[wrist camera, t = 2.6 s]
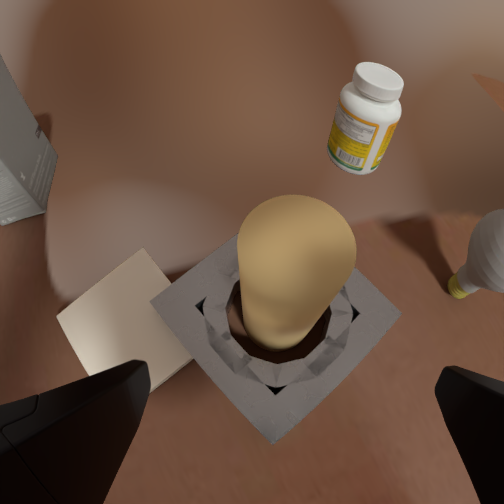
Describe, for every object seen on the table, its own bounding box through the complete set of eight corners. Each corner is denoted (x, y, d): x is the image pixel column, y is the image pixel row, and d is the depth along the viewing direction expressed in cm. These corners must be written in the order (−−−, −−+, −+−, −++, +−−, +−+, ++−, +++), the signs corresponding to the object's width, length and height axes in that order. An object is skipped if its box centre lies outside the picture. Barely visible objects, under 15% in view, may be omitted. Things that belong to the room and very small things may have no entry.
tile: (119, 416, 19) (116, 416, 18) (60, 318, 22) (56, 316, 21) (217, 339, 21) (216, 337, 21) (145, 250, 24) (142, 247, 24)
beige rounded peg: (274, 365, 21) (297, 328, 11) (229, 316, 22) (212, 239, 12) (323, 320, 22) (378, 248, 12) (278, 275, 23) (296, 177, 14)
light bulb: (423, 258, 24) (488, 186, 15) (470, 262, 24) (538, 199, 15) (431, 322, 22) (513, 269, 13) (480, 320, 21) (561, 272, 13)
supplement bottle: (337, 179, 28) (363, 93, 19) (318, 138, 30) (335, 56, 21) (387, 174, 28) (423, 96, 19) (366, 135, 30) (391, 59, 22)
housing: (270, 441, 18) (272, 444, 16) (157, 310, 22) (149, 301, 20) (390, 321, 22) (401, 313, 20) (279, 214, 26) (281, 200, 24)
